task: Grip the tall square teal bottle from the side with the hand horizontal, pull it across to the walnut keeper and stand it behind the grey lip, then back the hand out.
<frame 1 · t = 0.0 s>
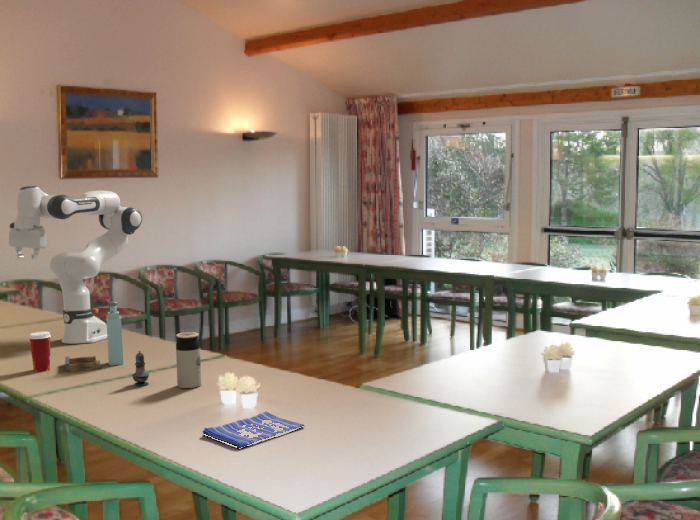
hand: (27, 258, 308), 39 cm above the table, tool pointing down, fingers open, 8 cm apart
paper cup: (41, 370, 281), on the table
travel mug: (189, 386, 257), on the table
keeper: (82, 366, 286), on the table
bottle: (115, 363, 290), on the table
dish towel: (253, 434, 209), on the table
salt shaker: (141, 385, 259), on the table
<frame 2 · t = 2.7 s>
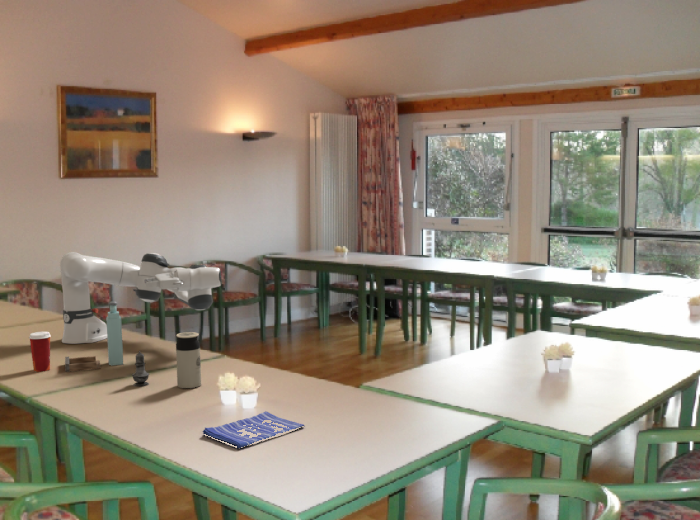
hand: (145, 282, 291), 31 cm above the table, tool horizontal, fingers open, 8 cm apart
nothing on the table moved.
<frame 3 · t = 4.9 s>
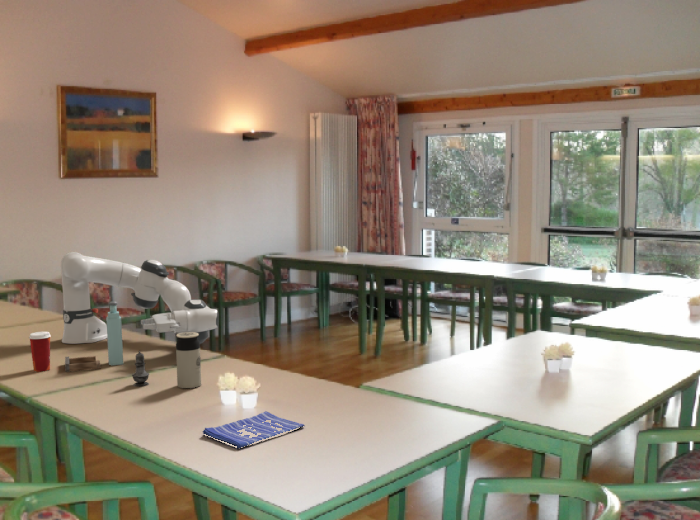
hand: (142, 324, 291), 14 cm above the table, tool horizontal, fingers open, 8 cm apart
nothing on the table moved.
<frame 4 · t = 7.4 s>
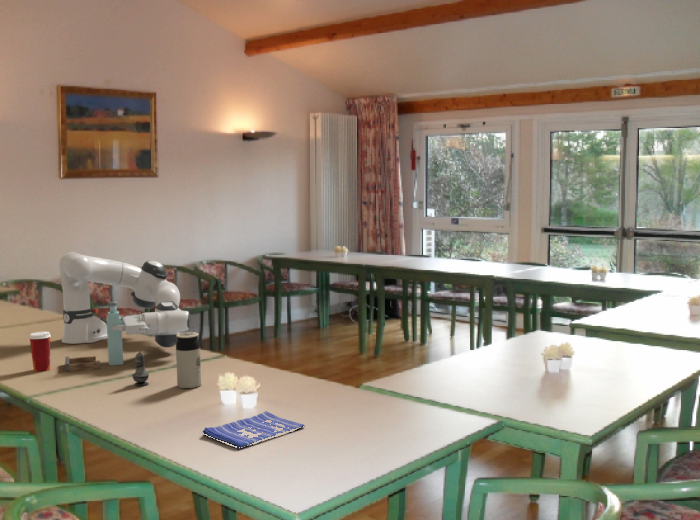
hand: (111, 326, 288), 15 cm above the table, tool horizontal, fingers closed on bottle, 5 cm apart
bottle: (115, 363, 290), on the table, touching gripper
everything else where it was.
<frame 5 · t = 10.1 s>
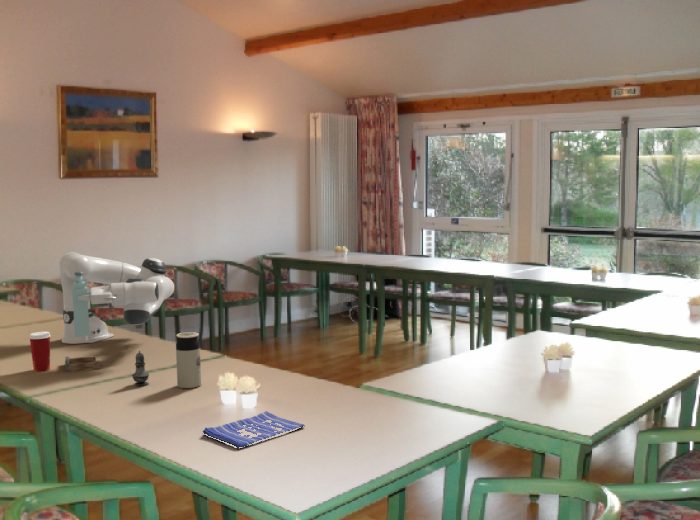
hand: (77, 296, 282), 27 cm above the table, tool horizontal, fingers closed on bottle, 5 cm apart
bottle: (82, 334, 284), point 12 cm above the table, touching gripper
everything else where it was.
when the fingers open (16 cm above the table, at t = 12.8 s): bottle stays where it is, resting on keeper.
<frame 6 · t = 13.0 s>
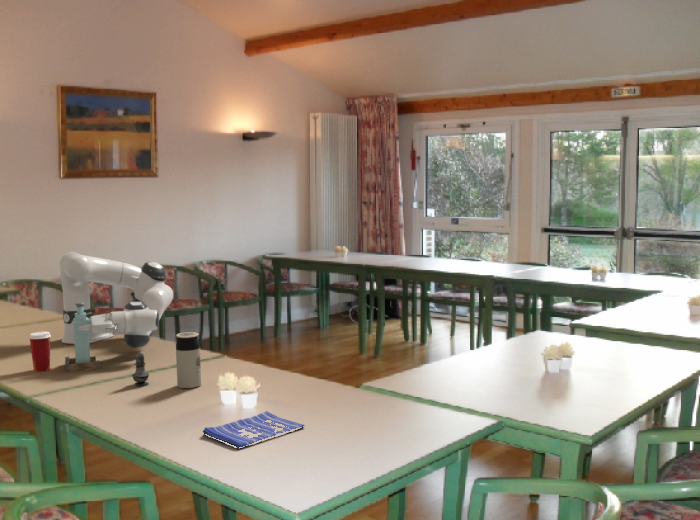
hand: (78, 326, 284), 16 cm above the table, tool horizontal, fingers open, 7 cm apart
bottle: (83, 365, 286), resting on keeper
everything else where it was.
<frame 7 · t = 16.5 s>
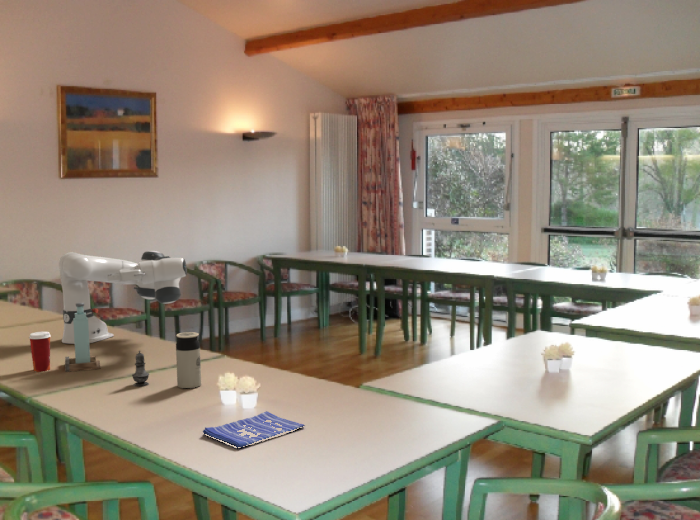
hand: (107, 277, 287), 33 cm above the table, tool horizontal, fingers open, 8 cm apart
nothing on the table moved.
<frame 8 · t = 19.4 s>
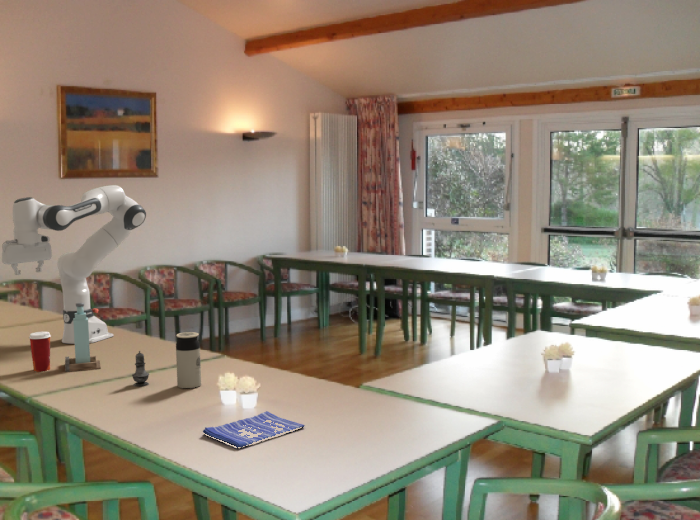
hand: (28, 273, 298), 34 cm above the table, tool pointing down, fingers open, 8 cm apart
nothing on the table moved.
at the end: bottle inside the target area on the keeper (0.1 cm from its centre), point 0.4 cm above the keeper's base; bottle tilted 0°; the gripper is holding nothing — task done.
